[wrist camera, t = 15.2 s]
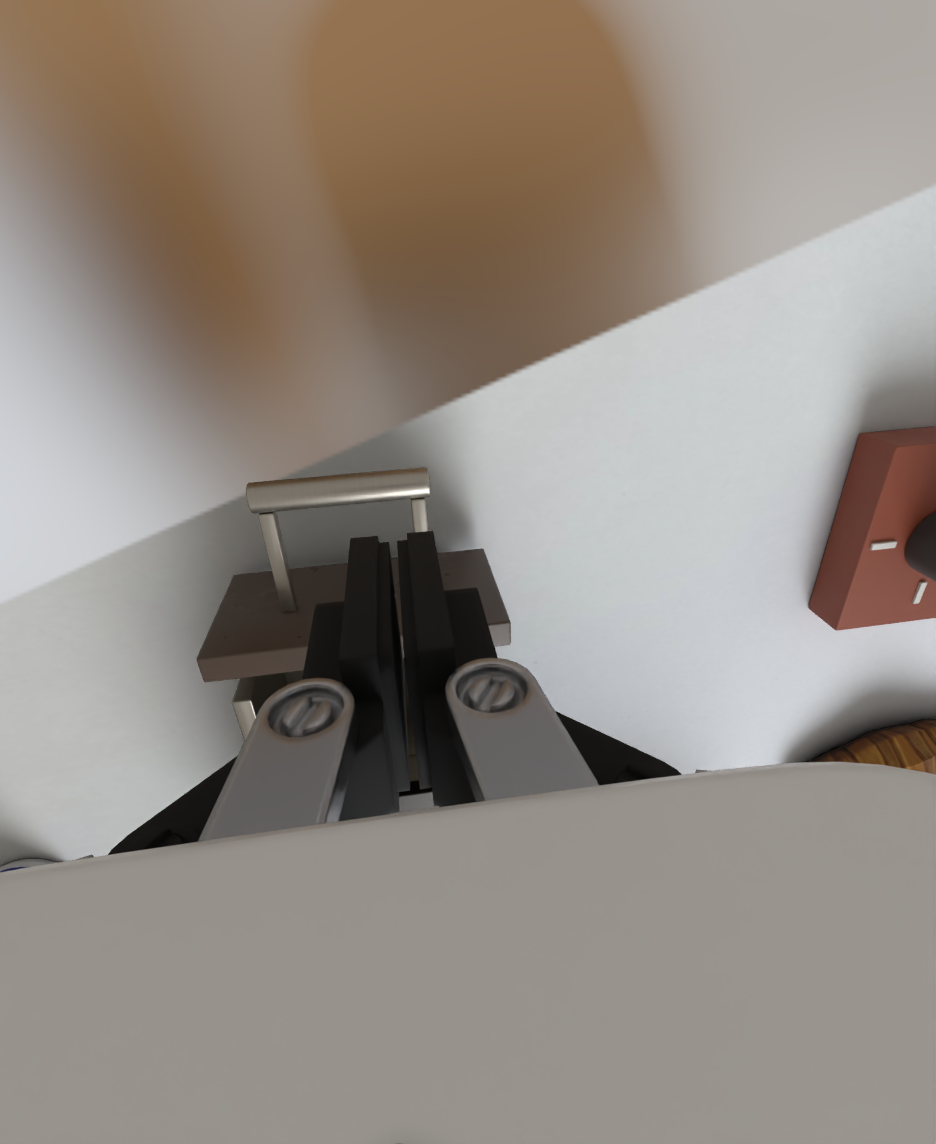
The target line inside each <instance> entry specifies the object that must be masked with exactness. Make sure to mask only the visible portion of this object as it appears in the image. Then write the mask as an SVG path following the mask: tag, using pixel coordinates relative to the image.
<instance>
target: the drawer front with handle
mask: <svg viewBox="0 0 936 1144" xmlns="http://www.w3.org/2000/svg"><path fill="white" fill-rule="evenodd" d="M246 497H247V503H248V506H249V509H250V511H251V512H252V513H254V514H255V513H259V520H260V524H261V528H262V532H263V536H264V540H265V544H266V548H267V552H268V556H269V561H270V565H271V569H272V571H266V572H257V573H247V574H238V575H234V576H233V578H232V580H231V583H230V585H229V587H228V589H227V592H226V594H225V596H224V598H223V601H222V603H221V605H220V607H219V610H218V612H217V614H216V616H215V619H214V621H213V623H212V625H211V628H210V630H209V632H208V634H207V637H206V639H205V641H204V643H203V646H202V648H201V650H200V652H199V654H198V657H197V663H198V666H199V669H200V671H201V674H202V677H203V680H204V682H213V681H221V680H229V679H237V678H240V679H239V683H238V686H237V689H236V692H235V695H234V698H233V701H232V704H233V707H234V710H235V713H236V716H237V719H238V722H239V725H240V729H241V732H242V735H243V738H244V741H245V739H246V737H247V735H248V733H249V731H250V729H251V727H252V724H253V722H254V720H255V718H256V716H257V714H258V712H259V710H260V708H261V707H262V705H263V704H264V702H265V701H266V700H267V699H268V698H269V697H270V696H271V695H273V694H274V693H275V692H276V691H278V690H279V689H281V688H283V687H285V686H287V685H289V684H291V683H294V682H297V681H300V680H302V676H303V671H304V665H305V660H306V654H307V649H308V643H309V637H310V632H311V626H312V621H313V615H314V610H315V606H316V604H319V603H328V602H338V601H344V599H345V589H346V579H347V569H348V563H342V564H332V565H323V566H313V567H304V568H294V569H289V565H288V561H287V556H286V552H285V548H284V543H283V539H282V535H281V530H280V526H279V521H278V517H277V513H276V511H287V510H297V509H308V508H318V507H329V506H339V505H350V504H360V503H370V502H381V501H391V500H402V499H411V509H412V519H413V528H414V532H425V531H428V520H427V509H426V499H425V497H430V482H429V473H428V468H427V467H419V468H408V469H397V470H386V471H375V472H364V473H353V474H342V475H331V476H320V477H309V478H297V479H286V480H275V481H264V482H254V483H248V484H247V487H246ZM437 555H438V561H439V566H440V571H441V577H442V582H443V588H444V590H454V589H464V588H473V587H477V589H478V591H479V595H480V598H481V602H482V605H483V609H484V612H485V616H486V619H487V623H488V626H489V630H490V633H491V637H492V640H493V644H494V647H496V646H504V645H510V643H511V622H510V620H509V617H508V614H507V611H506V609H505V606H504V603H503V601H502V598H501V595H500V592H499V590H498V587H497V584H496V582H495V579H494V576H493V573H492V571H491V568H490V565H489V563H488V560H487V557H486V554H485V552H484V549H474V550H464V551H455V552H446V553H437ZM391 563H392V571H393V579H394V588H395V596H396V604H397V612H398V621H399V629H400V637H401V645H402V655H403V668H404V686H405V704H406V722H407V739H408V757H409V775H410V781H416V780H419V778H418V770H417V761H416V753H415V745H414V736H413V728H412V720H411V711H410V703H409V695H408V686H407V678H406V670H405V660H404V649H403V635H402V617H401V600H400V583H399V566H398V558H391Z"/></svg>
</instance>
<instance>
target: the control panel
mask: <svg viewBox="0 0 936 1144" xmlns="http://www.w3.org/2000/svg"><path fill="white" fill-rule="evenodd" d="M934 512H936V426H935V427H924V428H913V429H902V430H891V431H880V432H869V433H860V434H859V437H858V441H857V444H856V447H855V451H854V454H853V458H852V461H851V464H850V468H849V471H848V475H847V478H846V481H845V485H844V488H843V492H842V495H841V498H840V502H839V505H838V509H837V512H836V516H835V519H834V522H833V526H832V529H831V533H830V536H829V539H828V543H827V546H826V550H825V553H824V556H823V560H822V563H821V567H820V570H819V573H818V577H817V580H816V584H815V587H814V590H813V594H812V597H811V601H810V604H809V609H810V610H811V611H812V612H814V613H815V614H816V615H817V616H819V617H820V618H821V619H822V620H823V621H825V622H826V623H827V624H828V625H830V626H831V627H832V628H833V629H835V630H844V629H852V628H860V627H868V626H875V625H883V624H891V623H899V622H906V621H914V620H922V619H930V618H936V582H935V581H933V580H931V579H930V578H928V577H926V576H925V575H923V574H921V573H919V572H918V571H916V570H914V569H913V568H911V567H910V566H909V564H908V563H907V560H906V556H905V551H906V546H907V543H908V540H909V538H910V536H911V534H912V533H913V531H914V530H915V529H916V528H917V526H918V525H919V524H920V523H921V522H922V521H923V520H924V519H925V518H927V517H928V516H929V515H931V514H932V513H934Z"/></svg>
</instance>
